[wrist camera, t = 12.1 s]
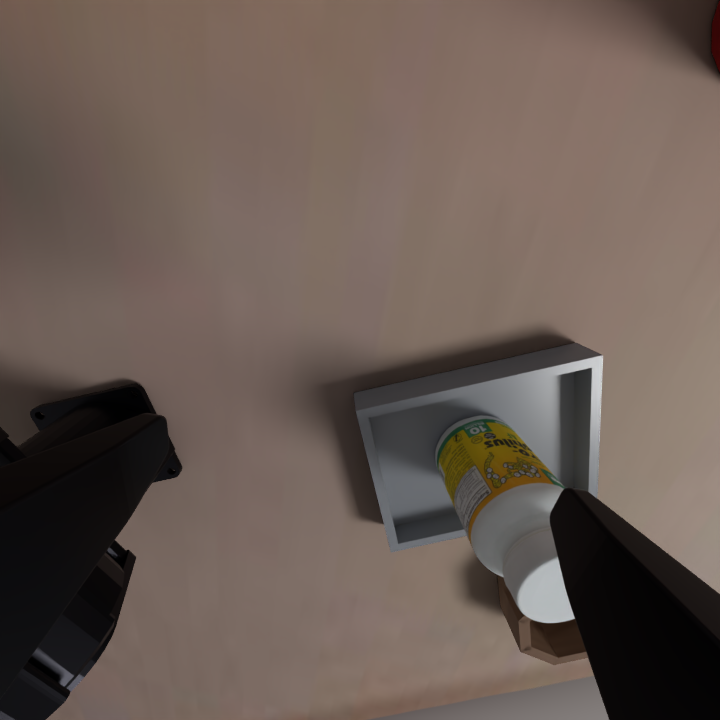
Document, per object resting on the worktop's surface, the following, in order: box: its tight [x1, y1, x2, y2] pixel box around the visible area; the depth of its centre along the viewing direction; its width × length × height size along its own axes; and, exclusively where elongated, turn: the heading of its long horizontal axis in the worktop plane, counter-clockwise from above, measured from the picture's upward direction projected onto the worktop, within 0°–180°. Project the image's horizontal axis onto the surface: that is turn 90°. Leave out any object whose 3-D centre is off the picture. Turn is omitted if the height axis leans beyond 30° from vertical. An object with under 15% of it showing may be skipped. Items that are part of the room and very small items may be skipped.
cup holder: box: [497, 575, 588, 665], centre depth 27 cm, size 9×9×4 cm
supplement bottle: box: [435, 415, 575, 623], centre depth 18 cm, size 5×5×10 cm
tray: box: [354, 343, 603, 552], centre depth 23 cm, size 14×11×2 cm
